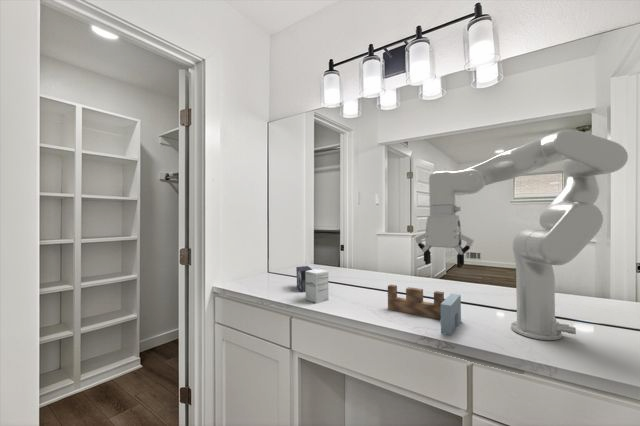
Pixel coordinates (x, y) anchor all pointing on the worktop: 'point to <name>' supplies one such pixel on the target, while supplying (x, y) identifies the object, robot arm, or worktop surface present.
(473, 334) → the worktop surface
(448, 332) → the crosspiece
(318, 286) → the supplement box
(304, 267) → the small box
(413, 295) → the notched board
